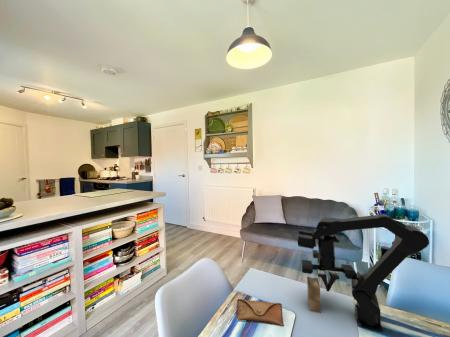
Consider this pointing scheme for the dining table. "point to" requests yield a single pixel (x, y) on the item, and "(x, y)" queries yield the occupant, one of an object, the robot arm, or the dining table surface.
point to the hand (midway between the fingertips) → (327, 290)
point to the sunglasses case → (260, 312)
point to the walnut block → (313, 294)
